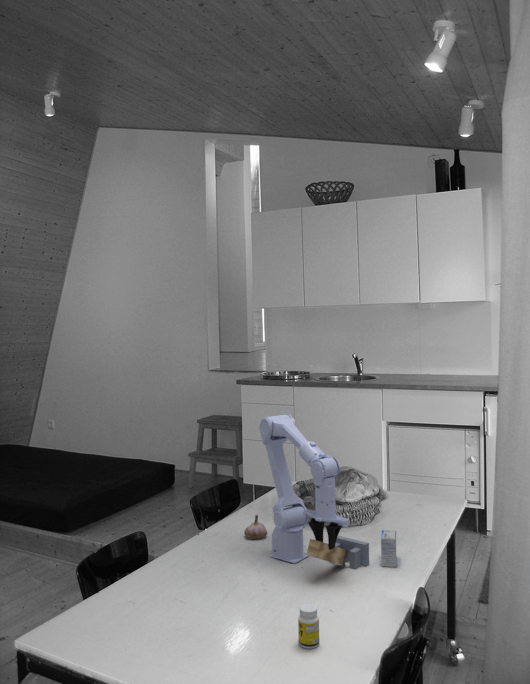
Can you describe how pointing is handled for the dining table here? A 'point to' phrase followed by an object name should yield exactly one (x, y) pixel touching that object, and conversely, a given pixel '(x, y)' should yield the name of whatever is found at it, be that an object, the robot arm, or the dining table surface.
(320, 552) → the rail
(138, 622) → the dining table surface
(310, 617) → the supplement bottle
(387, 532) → the medicine box
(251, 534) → the garlic bulb
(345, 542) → the grey stepped block
